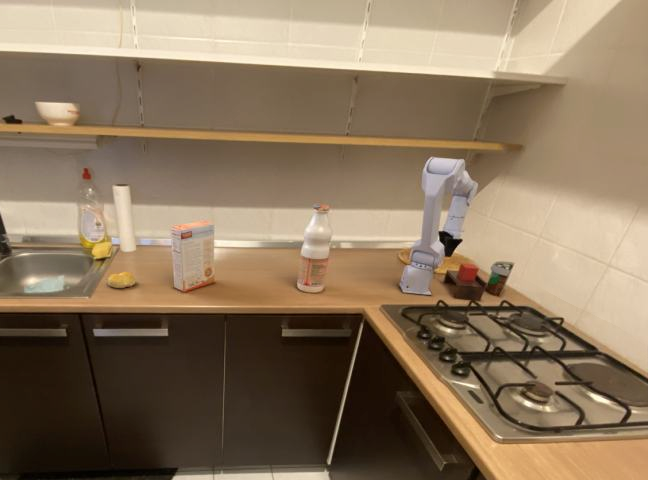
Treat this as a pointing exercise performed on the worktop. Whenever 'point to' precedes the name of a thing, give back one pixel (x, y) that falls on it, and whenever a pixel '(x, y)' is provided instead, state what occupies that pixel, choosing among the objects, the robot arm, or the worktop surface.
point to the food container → (499, 277)
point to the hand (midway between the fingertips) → (444, 253)
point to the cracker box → (193, 255)
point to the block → (467, 272)
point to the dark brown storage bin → (466, 286)
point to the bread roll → (121, 280)
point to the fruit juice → (315, 251)
